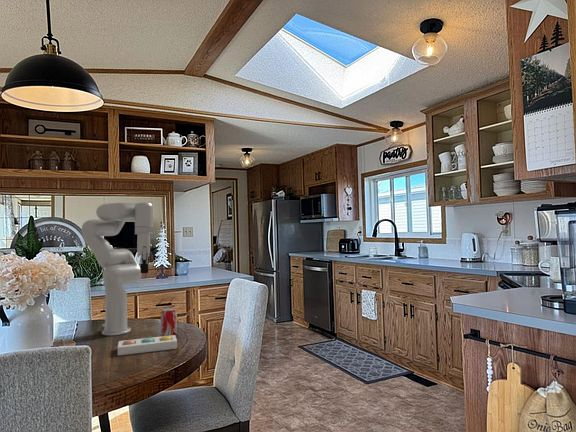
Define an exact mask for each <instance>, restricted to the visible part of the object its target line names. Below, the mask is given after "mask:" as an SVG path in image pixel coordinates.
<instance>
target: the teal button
mask: <svg viewBox="0 0 576 432" xmlns="http://www.w3.org/2000/svg"><path fill="white" fill-rule="evenodd" d="M145 338H146V339H143V338H142V339H143V343H148V342H153V338H152V337H145Z"/></svg>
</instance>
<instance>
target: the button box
mask: <svg viewBox="0 0 576 432" xmlns="http://www.w3.org/2000/svg"><path fill="white" fill-rule="evenodd" d="M161 337H164V336H162V335H161V336H153V337H151V338H153V342H148V343H143V339H146V338H147V337H144V338H136V339H132V340H134V341H135V344H130V345H124V341H127V339H126V340H119V341H118V344H117V356H126V355H133V354H142V353H143V354H144V353H151V352H159V351H167V350H168V351H169V350H176V349H178V339H177V336H176V335H171V340H166V341H161Z"/></svg>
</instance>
